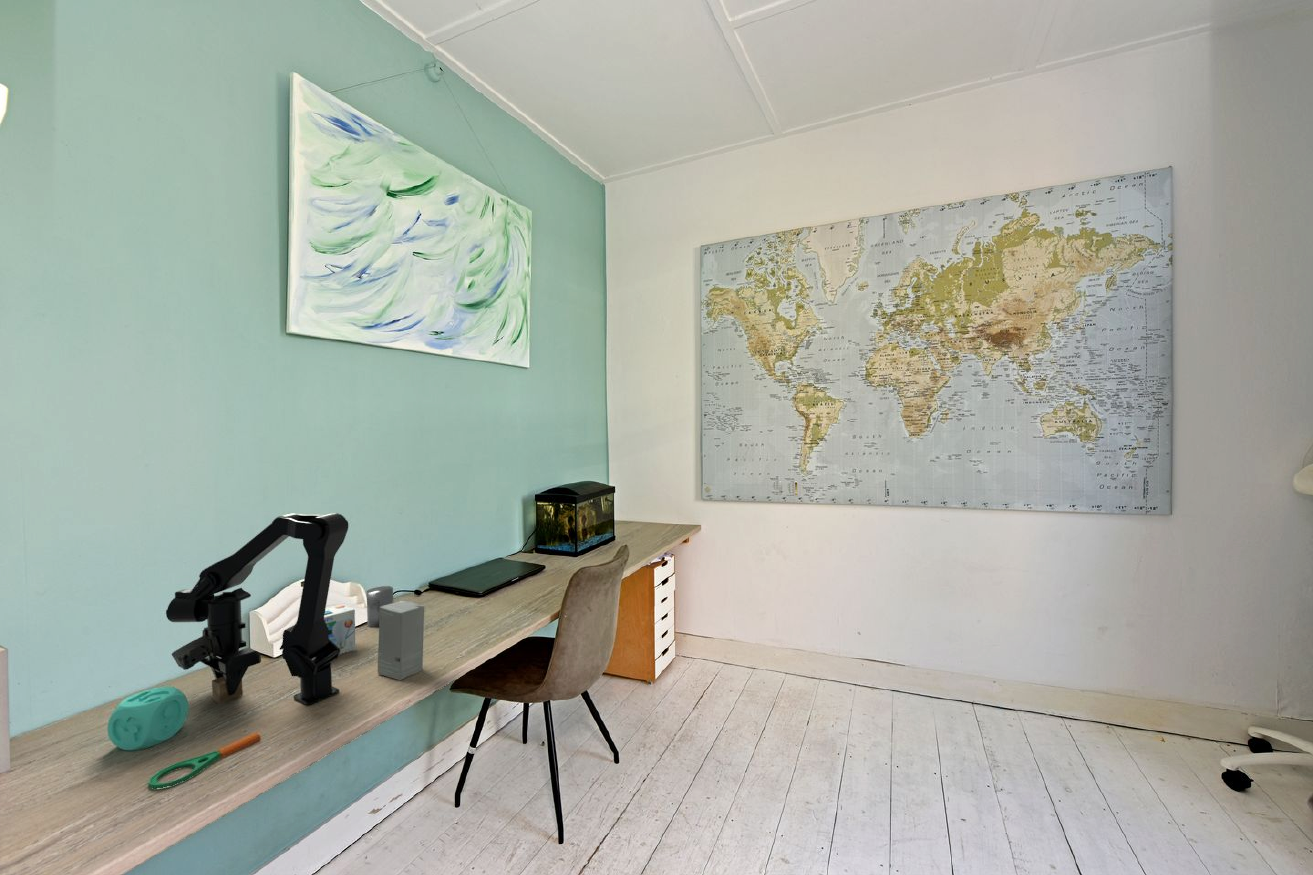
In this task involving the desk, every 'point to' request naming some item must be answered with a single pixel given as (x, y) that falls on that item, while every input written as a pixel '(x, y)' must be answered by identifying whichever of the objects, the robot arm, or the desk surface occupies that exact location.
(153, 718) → the decorative dice
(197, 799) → the desk surface
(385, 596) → the grey rounded block
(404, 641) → the skincare box
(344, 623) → the light bulb box
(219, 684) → the walnut cube
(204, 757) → the magnifying glass
